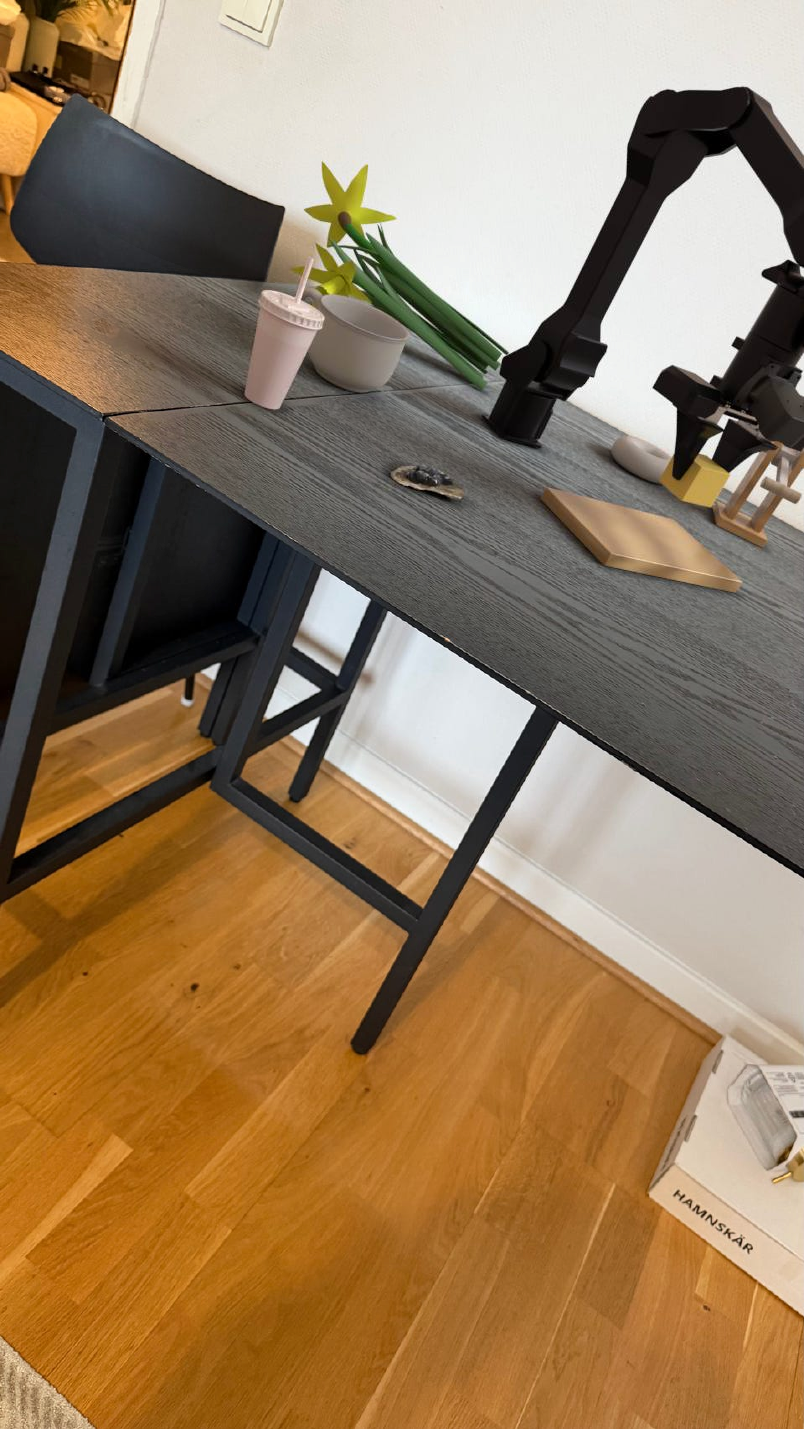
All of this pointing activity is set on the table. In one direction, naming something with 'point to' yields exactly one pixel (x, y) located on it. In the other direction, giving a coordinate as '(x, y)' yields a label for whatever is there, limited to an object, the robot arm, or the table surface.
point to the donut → (640, 458)
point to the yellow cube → (697, 481)
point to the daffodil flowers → (393, 282)
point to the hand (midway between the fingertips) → (690, 483)
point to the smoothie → (280, 343)
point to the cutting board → (639, 541)
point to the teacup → (355, 342)
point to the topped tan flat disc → (428, 480)
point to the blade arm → (782, 475)
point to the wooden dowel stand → (753, 527)
